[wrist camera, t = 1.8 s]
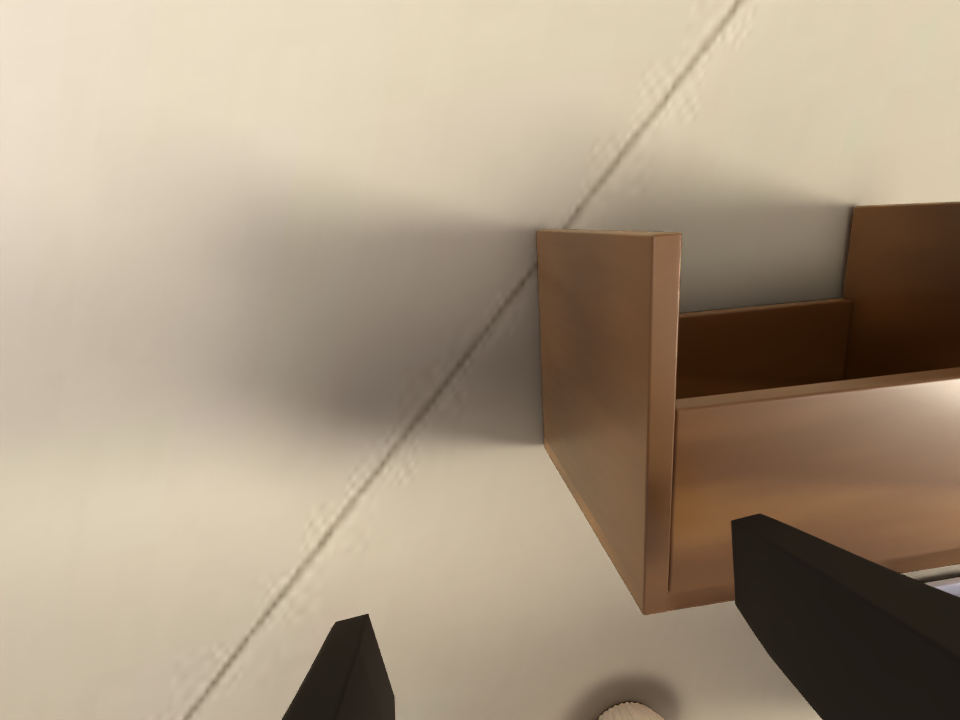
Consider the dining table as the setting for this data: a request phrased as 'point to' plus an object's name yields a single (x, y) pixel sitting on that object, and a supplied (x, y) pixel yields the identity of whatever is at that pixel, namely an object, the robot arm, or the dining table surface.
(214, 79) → the dining table surface
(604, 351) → the wooden crate
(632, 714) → the white swirled dome
